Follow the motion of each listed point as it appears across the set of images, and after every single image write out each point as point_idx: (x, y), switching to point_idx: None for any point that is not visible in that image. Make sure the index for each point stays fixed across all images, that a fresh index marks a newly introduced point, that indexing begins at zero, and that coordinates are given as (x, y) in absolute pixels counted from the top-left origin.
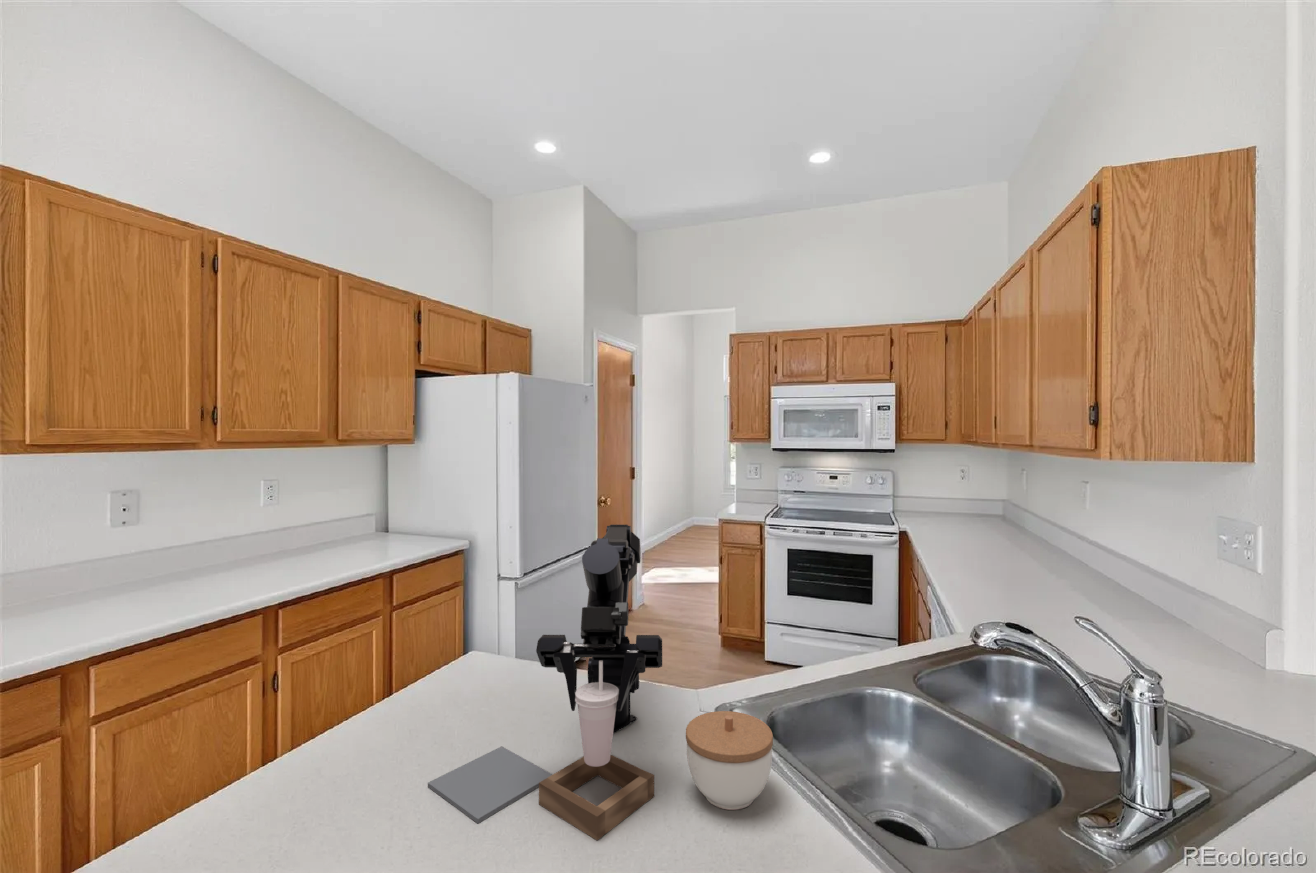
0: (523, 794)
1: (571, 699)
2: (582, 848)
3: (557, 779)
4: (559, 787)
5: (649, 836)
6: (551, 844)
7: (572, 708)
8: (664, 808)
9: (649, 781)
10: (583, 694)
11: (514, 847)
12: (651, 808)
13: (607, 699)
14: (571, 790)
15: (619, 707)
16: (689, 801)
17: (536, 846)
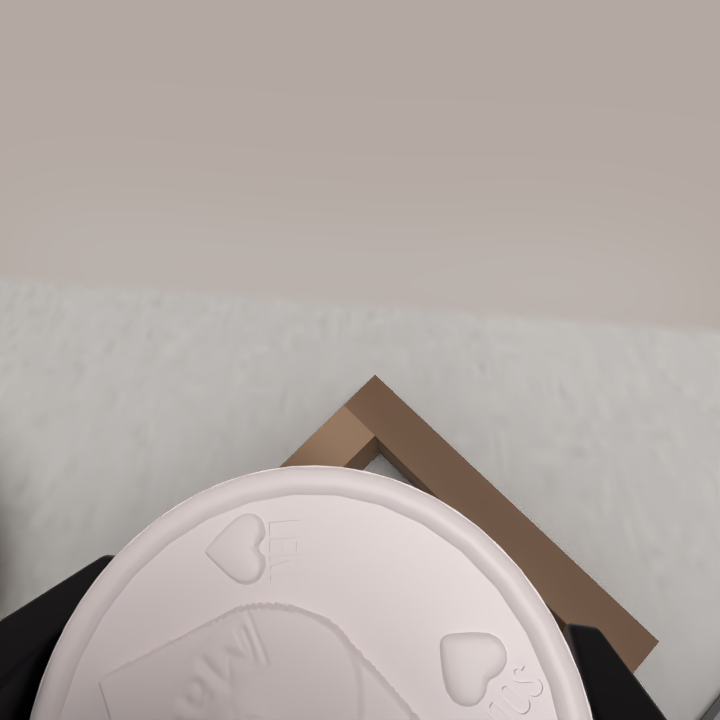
0: (715, 707)
1: (622, 688)
2: (425, 369)
3: None
4: (548, 586)
5: (212, 401)
6: (529, 395)
7: (579, 625)
8: (131, 539)
9: None
10: (479, 664)
11: (653, 393)
12: None
13: (196, 498)
14: None
15: (114, 556)
16: (32, 569)
17: (578, 391)
